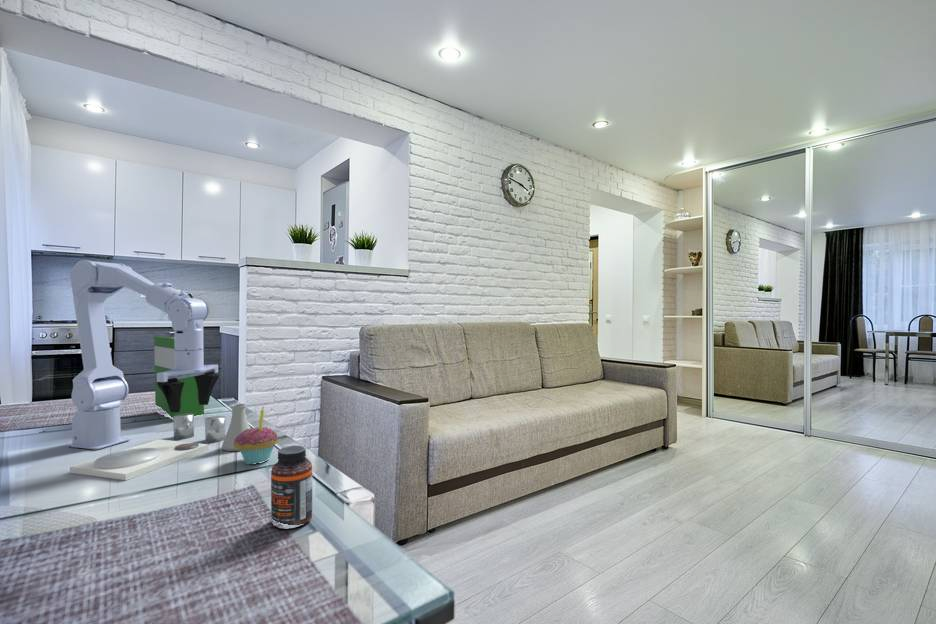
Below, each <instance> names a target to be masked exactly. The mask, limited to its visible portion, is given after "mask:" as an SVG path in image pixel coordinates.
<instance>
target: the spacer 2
mask: <svg viewBox="0 0 936 624" xmlns="http://www.w3.org/2000/svg"><path fill="white" fill-rule="evenodd" d="M204 419H205V420H204V430H205V431H204V434H205V435H204V436H205V437H204V439H205V440H204V441H205V443H206V444H209V443H210V444H211V443H220V442H224V439H225V437H226V434H227V433H226V416H224V415H215V416H214V415H213V416H210V417H206V418H204Z"/></svg>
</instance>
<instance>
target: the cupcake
mask: <svg viewBox="0 0 936 624" xmlns="http://www.w3.org/2000/svg"><path fill="white" fill-rule="evenodd" d="M261 408H262V409H261V410H260V414H259V415H260V416H259V422H258V427H253V428H251V427H250V429H246V430H245V431H243V432H242V433H241V434H239V435H238V436H237V437H236V439H235V440H234V447H235V448H237V449H239V450H238V451H240V453H241V456H242V458H243V461H244V463H245V464H247V465H249V464H254V463H259V462H262V461H265V460H267V459H268V458H270V459H271V455H272V451H273V449H274V447H275V446H276V444H277V442H278V439H279V436H278V434H277V432H276V431H274V430H273V429H271V428H268V427H266V426H264V427H263V425H264V414H265V410H264V408H265V406H262V407H261Z"/></svg>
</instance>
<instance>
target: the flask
mask: <svg viewBox="0 0 936 624" xmlns="http://www.w3.org/2000/svg"><path fill="white" fill-rule="evenodd" d="M247 406H248V404H246V403H235V404H232V405H230V409H231V419H230V424H229V426H228V428H227V433H226V437H225V439H224V440H223V441H222V442H223V443H222V445H221V447H220V450H224V451H228V452H231V451H232V452H235V451H240V450H239V449H237V448H235V447H234V440H235V439H236V437H237V436H238V435H239V434H241V433H242V432H243V431H245V430H246V429H250V428H251V427H250V423H249V421H248V418H247V414H246V408H247Z"/></svg>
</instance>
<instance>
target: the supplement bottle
mask: <svg viewBox="0 0 936 624" xmlns="http://www.w3.org/2000/svg"><path fill="white" fill-rule="evenodd" d="M306 450H307V449H306V447H305V446H303V445H288V446H285V447H282V448H280V449H278V451H277V462H276V463H274V465H273V466H272V467H271V471H270V480H271V481H270V491H271V492H270V496H271V497H270V503H271V505H270V507H271V509H270V513H271V516H270V517H271V518H272V519H273V520H275V521H277V522H280V523H283V524H288V525H300V524H305V523H307V522H308V521H309V520H310V519H311V520H312V518H313V465H312V462H311V461H310V460H309V459H308V458H307V457H306V456H307V453H306V452H307V451H306ZM271 518H270V519H271ZM272 519H271V520H272ZM311 520H310V521H311ZM310 521H309V522H310ZM309 522H308V523H309ZM308 523H307V524H308ZM305 525H306V524H305Z"/></svg>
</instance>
